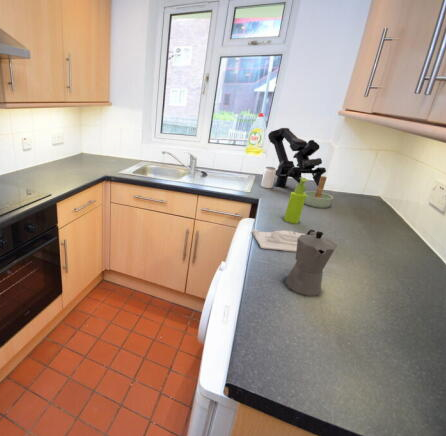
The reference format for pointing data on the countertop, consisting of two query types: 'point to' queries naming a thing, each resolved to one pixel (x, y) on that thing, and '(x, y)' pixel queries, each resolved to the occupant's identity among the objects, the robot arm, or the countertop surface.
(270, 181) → the can
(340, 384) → the countertop surface
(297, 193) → the soap dispenser
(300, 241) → the coffeepot
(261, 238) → the beige cloth
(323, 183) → the pestle
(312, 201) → the bowl
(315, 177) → the robot arm
